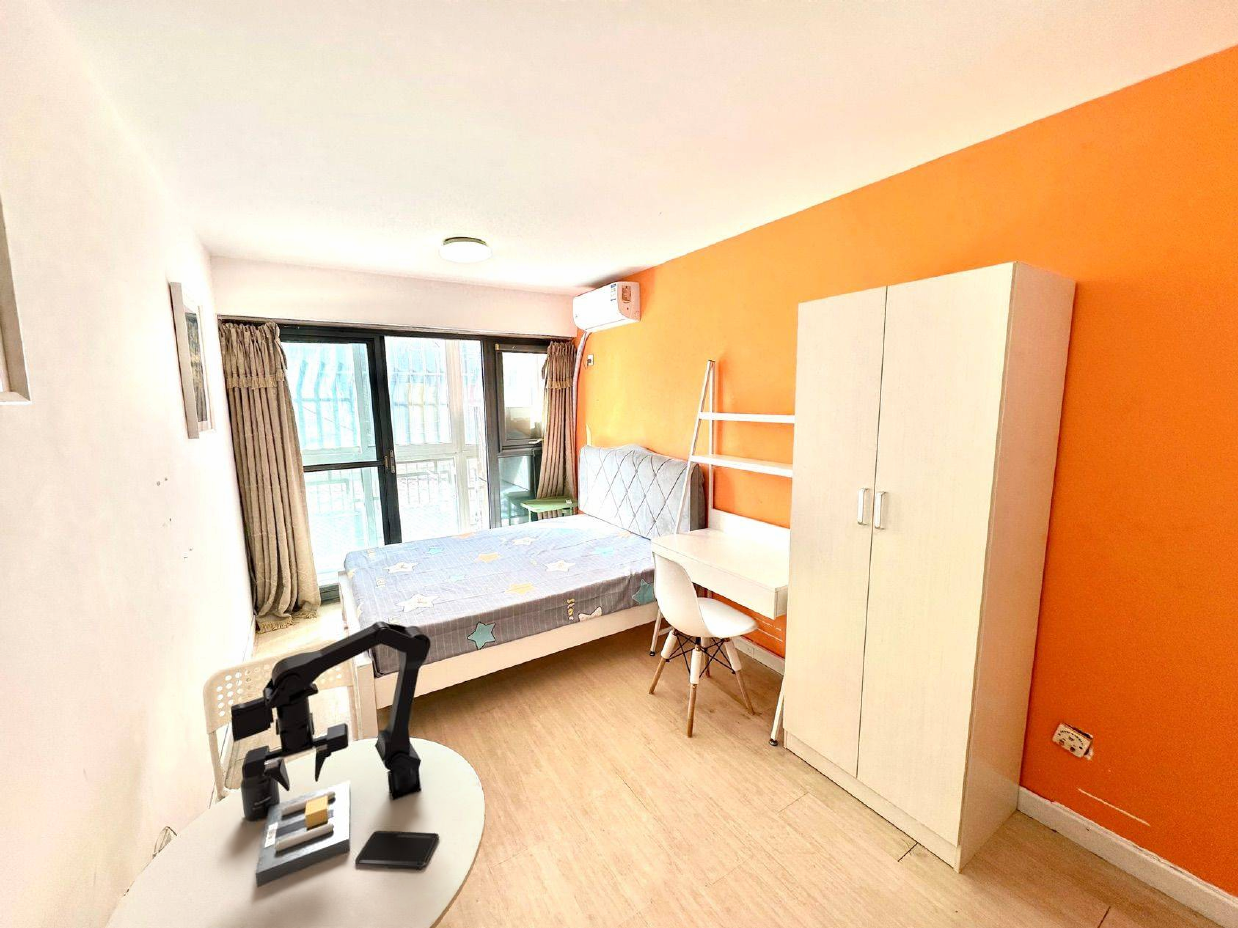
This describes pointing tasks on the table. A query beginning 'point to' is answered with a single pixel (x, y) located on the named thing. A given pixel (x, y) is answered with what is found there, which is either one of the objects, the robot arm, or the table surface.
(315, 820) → the block
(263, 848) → the panel
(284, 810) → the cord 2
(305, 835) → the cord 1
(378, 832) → the phone
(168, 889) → the table surface
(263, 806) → the supplement bottle
